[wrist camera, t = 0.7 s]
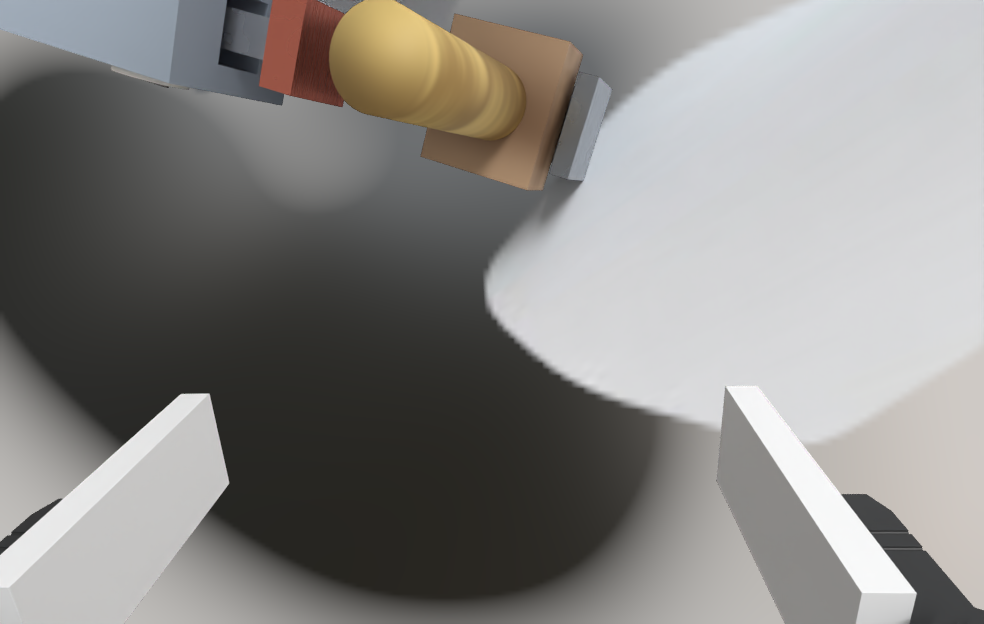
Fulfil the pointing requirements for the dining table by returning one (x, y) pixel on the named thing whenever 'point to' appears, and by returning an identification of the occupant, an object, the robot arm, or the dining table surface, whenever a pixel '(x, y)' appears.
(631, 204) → the dining table surface
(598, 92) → the rail
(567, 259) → the dining table surface
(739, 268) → the dining table surface
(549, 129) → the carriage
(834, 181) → the dining table surface
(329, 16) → the plunger
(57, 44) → the gauge cabinet
